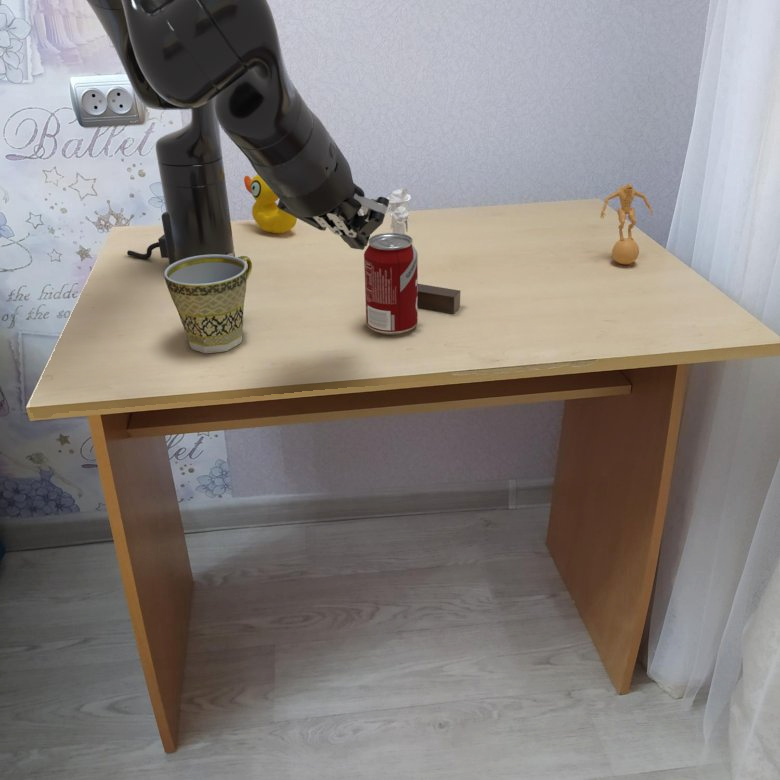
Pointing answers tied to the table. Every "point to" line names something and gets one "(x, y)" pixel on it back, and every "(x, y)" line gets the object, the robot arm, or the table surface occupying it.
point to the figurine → (624, 248)
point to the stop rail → (438, 298)
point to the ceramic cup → (210, 299)
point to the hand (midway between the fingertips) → (360, 241)
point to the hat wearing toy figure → (399, 210)
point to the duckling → (267, 207)
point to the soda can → (391, 283)
